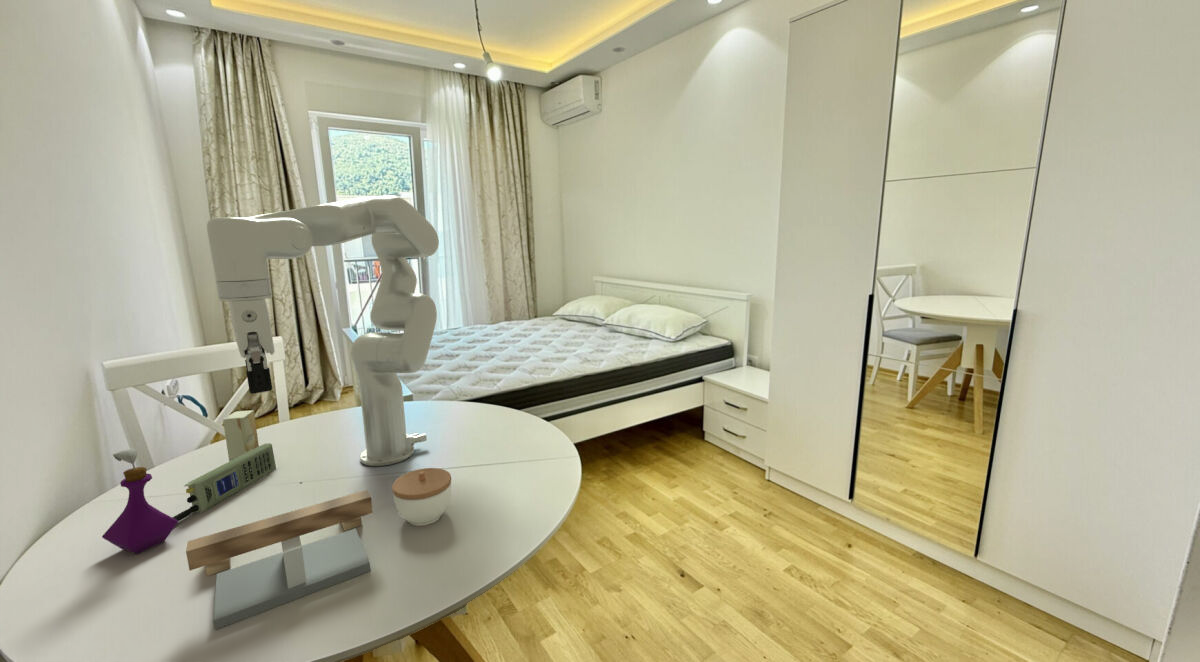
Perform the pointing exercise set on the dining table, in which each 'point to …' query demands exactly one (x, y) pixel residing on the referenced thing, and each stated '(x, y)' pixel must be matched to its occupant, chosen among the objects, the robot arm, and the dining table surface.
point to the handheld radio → (228, 479)
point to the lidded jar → (422, 495)
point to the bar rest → (227, 562)
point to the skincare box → (240, 433)
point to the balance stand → (287, 576)
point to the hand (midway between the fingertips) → (260, 385)
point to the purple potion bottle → (138, 513)
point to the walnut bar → (276, 529)
